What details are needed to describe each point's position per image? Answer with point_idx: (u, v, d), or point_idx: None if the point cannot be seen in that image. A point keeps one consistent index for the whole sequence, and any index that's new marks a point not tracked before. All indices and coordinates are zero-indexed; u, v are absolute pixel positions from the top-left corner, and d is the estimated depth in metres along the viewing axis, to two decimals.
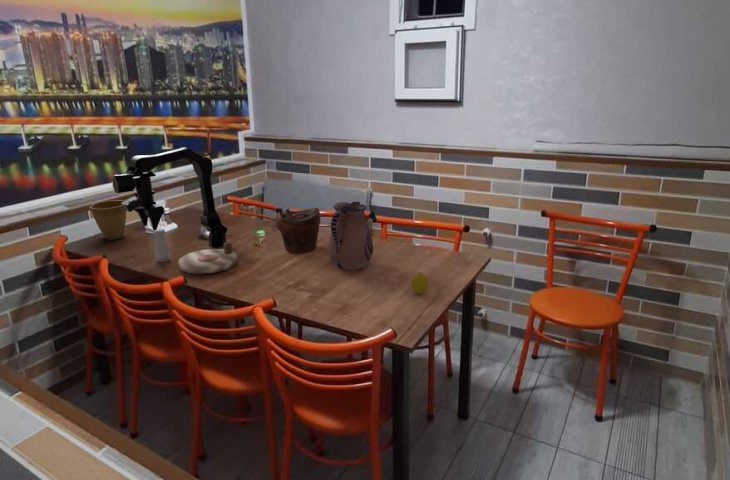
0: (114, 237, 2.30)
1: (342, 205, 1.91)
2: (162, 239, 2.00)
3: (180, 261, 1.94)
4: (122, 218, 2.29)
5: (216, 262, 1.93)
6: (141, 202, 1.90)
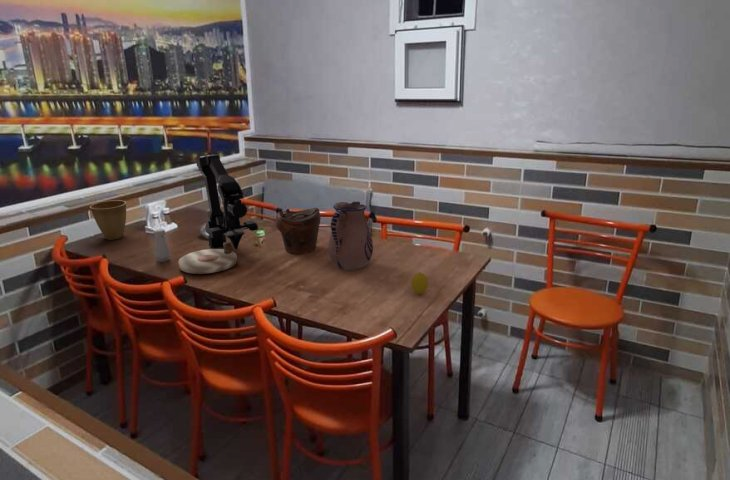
0: (114, 237, 2.30)
1: (342, 205, 1.91)
2: (162, 239, 2.00)
3: (180, 261, 1.94)
4: (122, 218, 2.29)
5: (217, 261, 1.94)
6: (223, 222, 2.00)
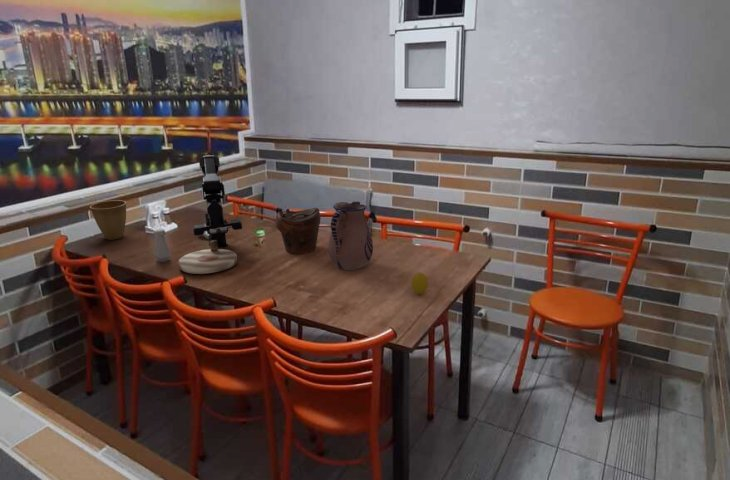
0: (114, 237, 2.30)
1: (342, 205, 1.91)
2: (162, 239, 2.00)
3: (188, 267, 1.89)
4: (122, 218, 2.29)
5: (223, 257, 1.98)
6: (209, 219, 2.03)
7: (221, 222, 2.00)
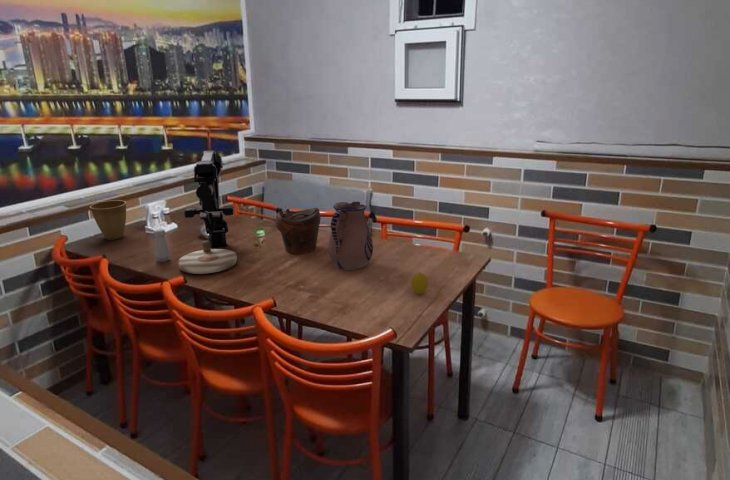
0: (114, 237, 2.30)
1: (342, 205, 1.91)
2: (162, 239, 2.00)
3: (196, 268, 1.88)
4: (122, 218, 2.29)
5: (224, 256, 2.00)
6: None
7: (212, 206, 1.97)
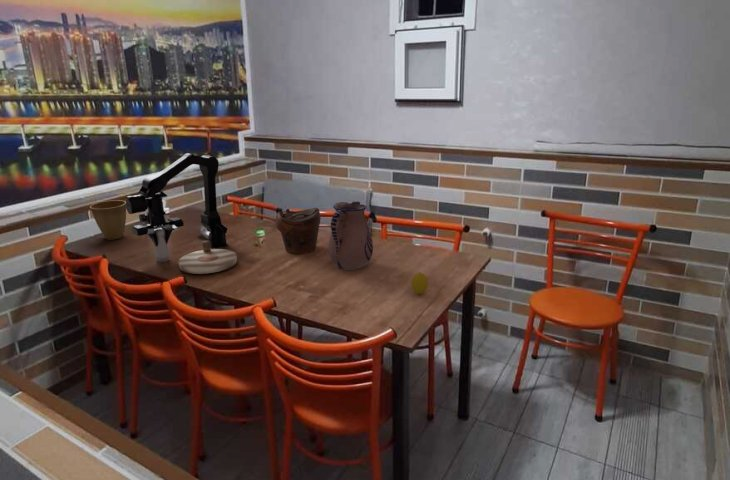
0: (114, 237, 2.30)
1: (342, 205, 1.91)
2: (162, 239, 2.00)
3: (196, 268, 1.88)
4: (122, 218, 2.29)
5: (224, 256, 2.00)
6: (147, 219, 1.99)
7: (164, 220, 1.98)
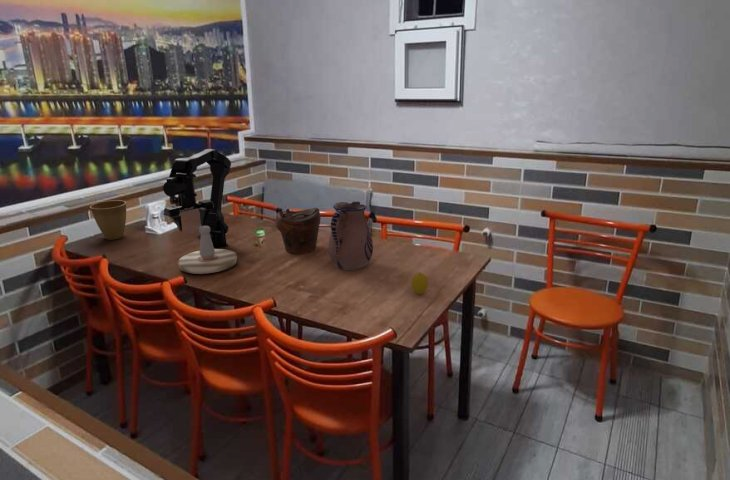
0: (114, 237, 2.30)
1: (342, 205, 1.91)
2: (207, 236, 1.93)
3: (196, 268, 1.88)
4: (122, 218, 2.29)
5: (224, 256, 2.00)
6: (178, 201, 1.98)
7: (195, 202, 1.97)
